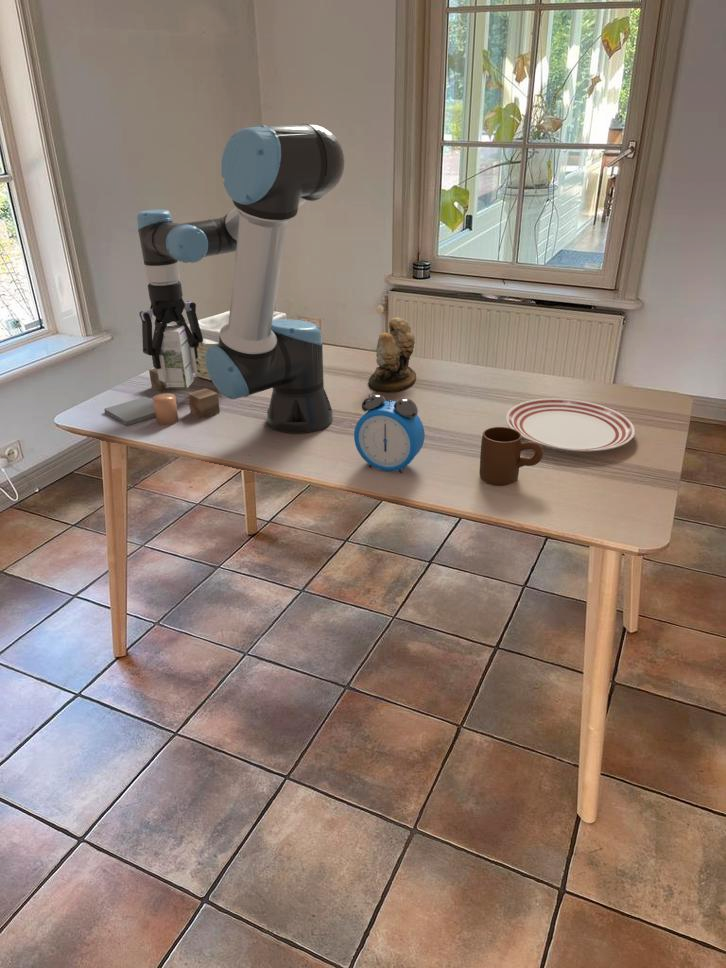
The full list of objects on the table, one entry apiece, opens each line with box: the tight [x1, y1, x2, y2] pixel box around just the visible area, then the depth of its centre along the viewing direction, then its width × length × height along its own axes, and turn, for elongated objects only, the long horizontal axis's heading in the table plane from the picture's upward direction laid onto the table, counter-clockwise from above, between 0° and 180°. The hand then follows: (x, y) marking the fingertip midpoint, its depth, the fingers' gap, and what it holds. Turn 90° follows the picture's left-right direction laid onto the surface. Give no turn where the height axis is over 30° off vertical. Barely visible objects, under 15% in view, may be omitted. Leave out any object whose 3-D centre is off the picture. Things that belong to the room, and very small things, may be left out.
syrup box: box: [156, 324, 195, 389], centre depth 175 cm, size 6×6×14 cm
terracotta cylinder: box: [152, 392, 180, 427], centre depth 168 cm, size 5×5×6 cm
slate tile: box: [104, 396, 156, 426], centre depth 174 cm, size 11×11×1 cm
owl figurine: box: [368, 316, 417, 393], centre depth 187 cm, size 18×12×17 cm, turn 162°
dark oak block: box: [148, 367, 177, 393], centre depth 188 cm, size 5×5×5 cm
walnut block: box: [187, 387, 221, 419], centre depth 173 cm, size 5×5×5 cm
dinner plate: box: [505, 397, 636, 453], centre depth 160 cm, size 28×27×3 cm
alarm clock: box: [353, 393, 426, 474], centre depth 144 cm, size 13×6×15 cm, turn 67°
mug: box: [479, 426, 544, 487], centre depth 139 cm, size 12×8×9 cm, turn 60°
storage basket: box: [187, 310, 287, 381], centre depth 196 cm, size 24×16×15 cm
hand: (178, 376), depth 178 cm, fingers closed on syrup box, 8 cm apart
